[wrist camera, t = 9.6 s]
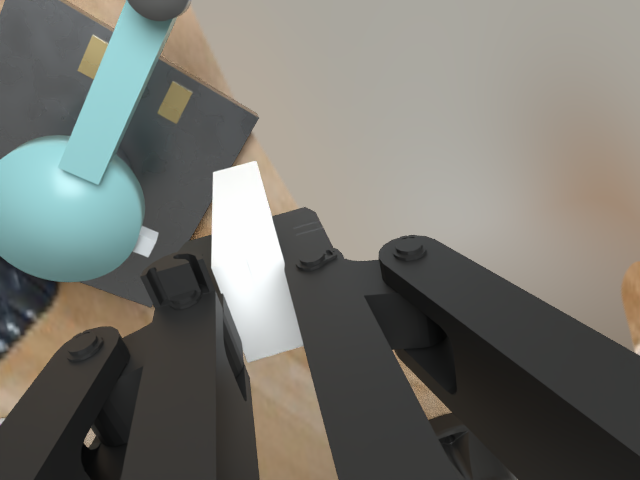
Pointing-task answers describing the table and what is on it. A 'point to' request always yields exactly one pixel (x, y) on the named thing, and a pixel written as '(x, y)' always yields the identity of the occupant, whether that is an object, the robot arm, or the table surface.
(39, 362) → the table surface
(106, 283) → the post base
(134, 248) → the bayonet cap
